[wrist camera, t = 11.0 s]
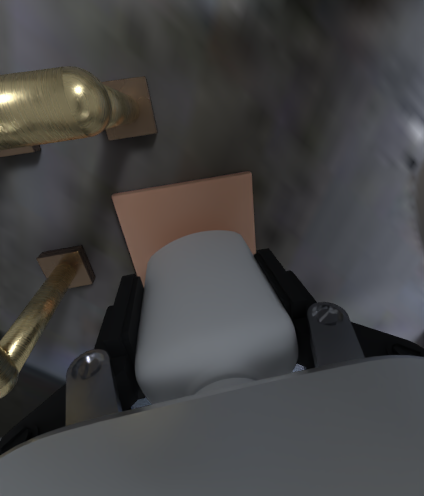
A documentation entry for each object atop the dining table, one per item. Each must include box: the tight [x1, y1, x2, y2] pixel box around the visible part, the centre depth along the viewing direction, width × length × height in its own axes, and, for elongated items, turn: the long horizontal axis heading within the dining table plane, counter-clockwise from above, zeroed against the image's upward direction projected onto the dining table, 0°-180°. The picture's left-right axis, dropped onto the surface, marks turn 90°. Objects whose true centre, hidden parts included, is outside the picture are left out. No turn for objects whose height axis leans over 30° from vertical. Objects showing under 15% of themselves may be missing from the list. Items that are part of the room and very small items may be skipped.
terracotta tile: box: [111, 171, 256, 287], centre depth 17 cm, size 8×8×1 cm
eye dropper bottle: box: [135, 230, 298, 404], centre depth 10 cm, size 4×6×12 cm
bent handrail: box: [0, 66, 158, 398], centre depth 11 cm, size 10×8×9 cm
